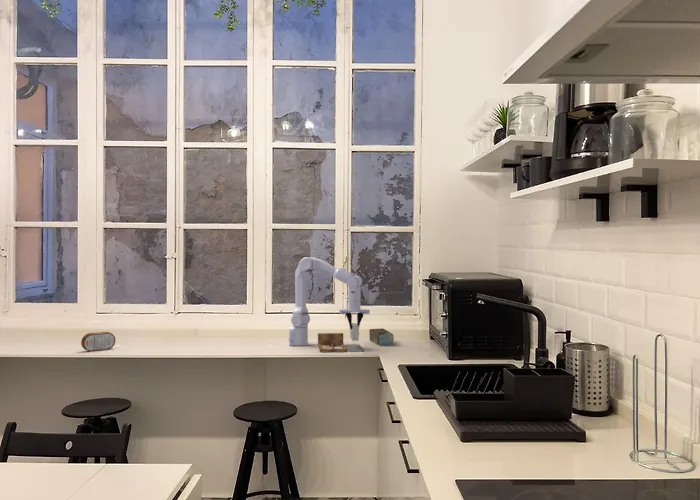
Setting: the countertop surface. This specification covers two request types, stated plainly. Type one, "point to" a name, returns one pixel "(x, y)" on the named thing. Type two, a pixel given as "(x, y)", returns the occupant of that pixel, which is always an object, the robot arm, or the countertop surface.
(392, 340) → the beverage carton
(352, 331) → the shiny grey metal block
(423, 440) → the countertop surface
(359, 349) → the mat
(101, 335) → the tin
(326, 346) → the offcut top
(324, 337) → the rack
